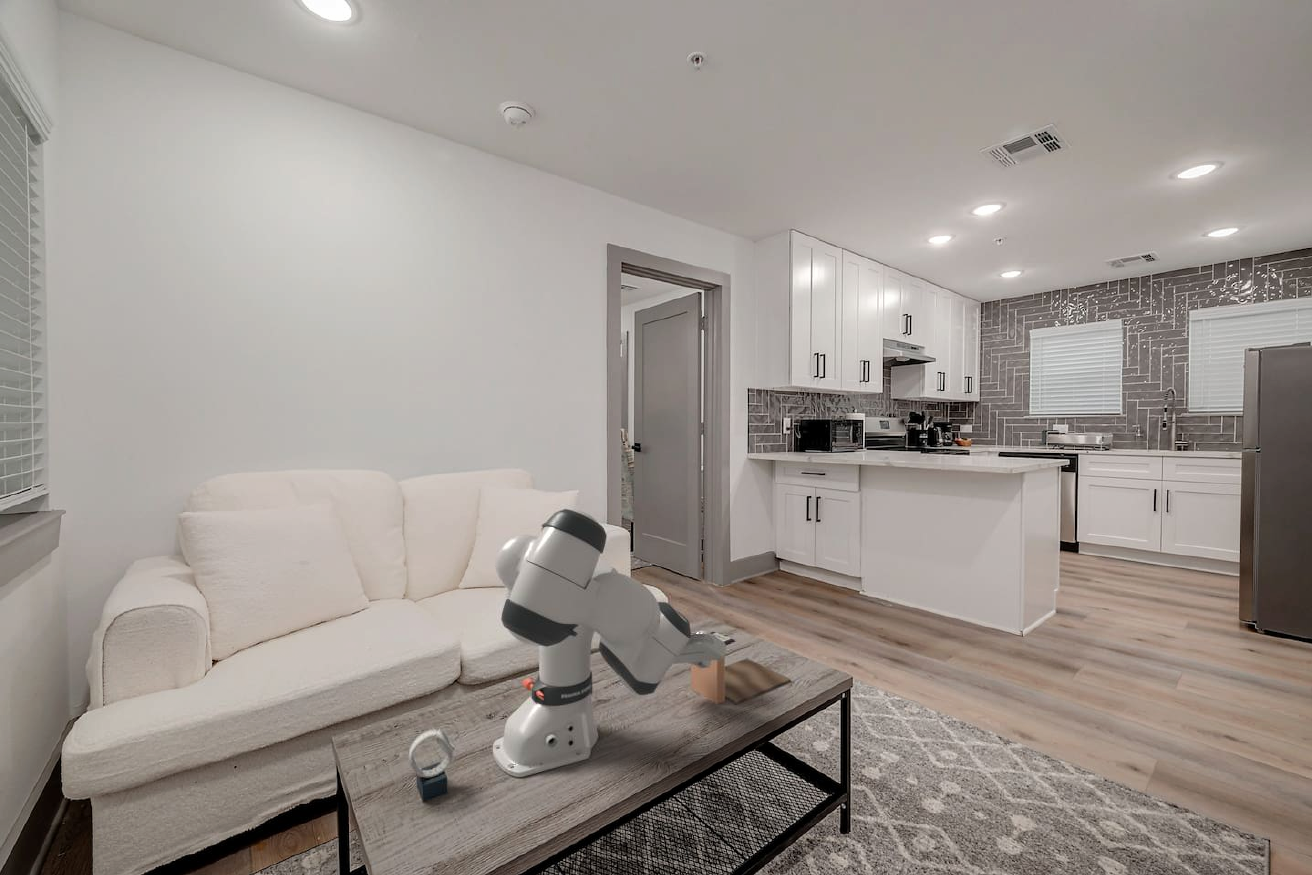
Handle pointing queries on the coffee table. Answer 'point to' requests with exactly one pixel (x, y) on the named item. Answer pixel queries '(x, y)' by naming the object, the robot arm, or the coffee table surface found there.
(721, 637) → the chocolate bar
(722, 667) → the terracotta tile
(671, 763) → the coffee table surface
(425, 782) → the watch
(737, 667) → the walnut board
